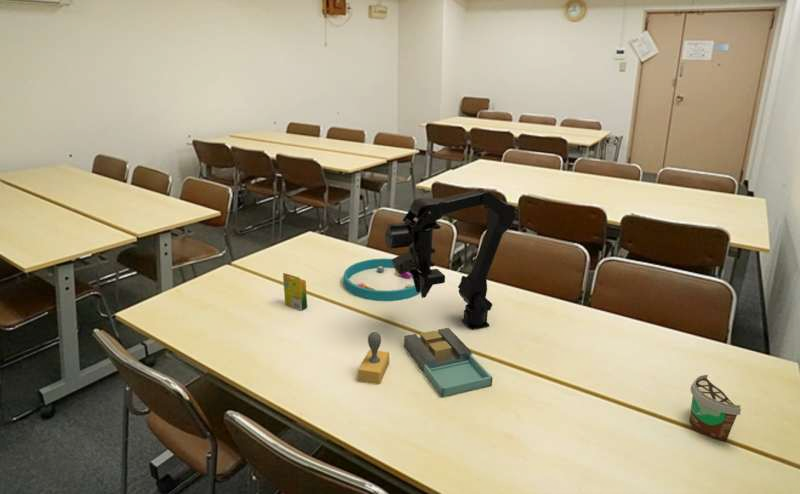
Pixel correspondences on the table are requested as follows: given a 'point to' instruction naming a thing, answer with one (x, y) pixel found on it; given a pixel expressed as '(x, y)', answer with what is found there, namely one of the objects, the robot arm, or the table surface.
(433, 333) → the brass chip
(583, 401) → the table surface
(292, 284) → the crayon box
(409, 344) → the slotted plate
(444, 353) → the brass chip
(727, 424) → the food container
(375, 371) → the rubber stamp
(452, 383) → the tray
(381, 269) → the teal ring
